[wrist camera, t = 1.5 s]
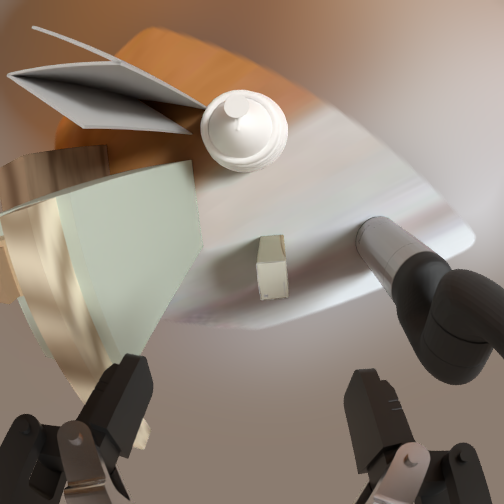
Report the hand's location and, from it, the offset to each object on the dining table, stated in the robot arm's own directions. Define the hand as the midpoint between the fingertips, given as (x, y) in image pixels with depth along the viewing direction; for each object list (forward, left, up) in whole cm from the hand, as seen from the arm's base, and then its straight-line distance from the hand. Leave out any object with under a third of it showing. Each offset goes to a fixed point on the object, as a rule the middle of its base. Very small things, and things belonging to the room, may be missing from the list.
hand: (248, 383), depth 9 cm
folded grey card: (+22, -8, -40) cm, 46 cm away
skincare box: (-6, +9, -40) cm, 41 cm away
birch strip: (+10, +13, -8) cm, 18 cm away
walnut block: (+32, +11, -40) cm, 52 cm away
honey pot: (+7, -8, -40) cm, 41 cm away
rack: (+15, +10, -40) cm, 44 cm away
